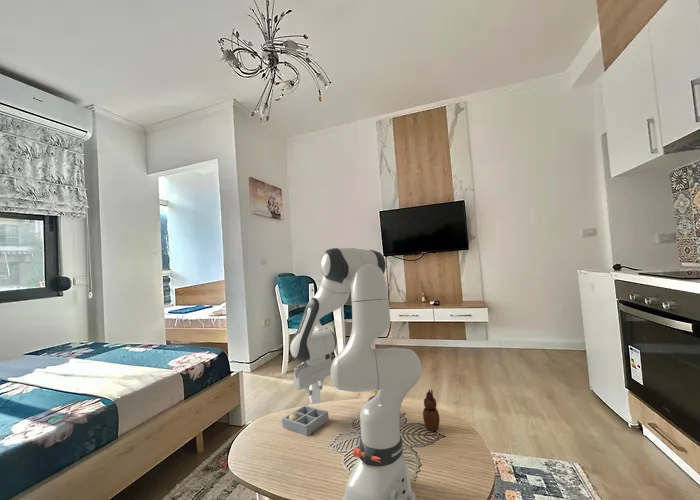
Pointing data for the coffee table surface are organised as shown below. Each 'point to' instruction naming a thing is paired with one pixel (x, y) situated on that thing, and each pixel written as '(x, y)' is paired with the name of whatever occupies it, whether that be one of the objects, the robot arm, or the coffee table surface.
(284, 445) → the coffee table surface
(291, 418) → the brown ball
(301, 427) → the grey compartment tray
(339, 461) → the coffee table surface
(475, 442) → the coffee table surface
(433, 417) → the wooden figurine
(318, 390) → the pepper shaker
